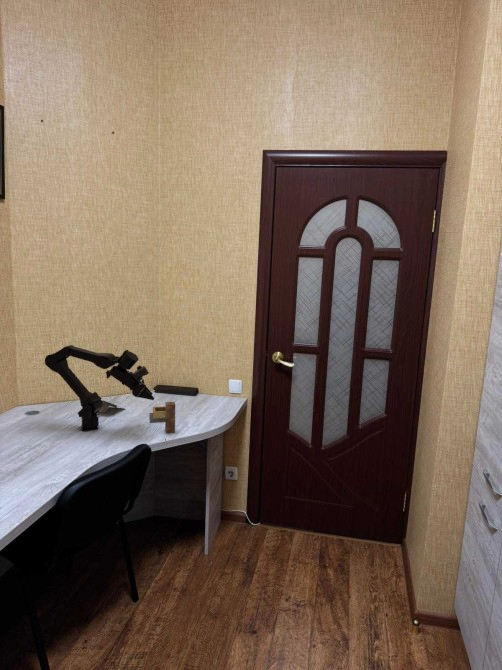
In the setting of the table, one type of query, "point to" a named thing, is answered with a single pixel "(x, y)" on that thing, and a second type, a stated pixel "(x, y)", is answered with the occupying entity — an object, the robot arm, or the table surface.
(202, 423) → the table surface
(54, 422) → the table surface
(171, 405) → the rail post
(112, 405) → the wall
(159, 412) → the gold square frame
